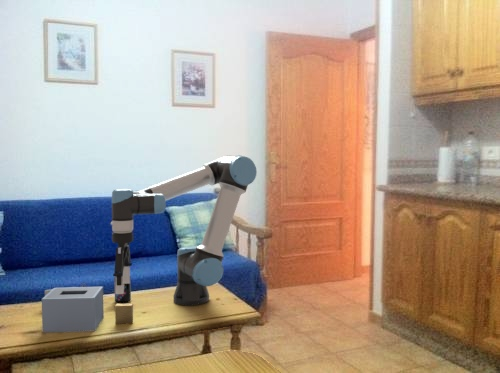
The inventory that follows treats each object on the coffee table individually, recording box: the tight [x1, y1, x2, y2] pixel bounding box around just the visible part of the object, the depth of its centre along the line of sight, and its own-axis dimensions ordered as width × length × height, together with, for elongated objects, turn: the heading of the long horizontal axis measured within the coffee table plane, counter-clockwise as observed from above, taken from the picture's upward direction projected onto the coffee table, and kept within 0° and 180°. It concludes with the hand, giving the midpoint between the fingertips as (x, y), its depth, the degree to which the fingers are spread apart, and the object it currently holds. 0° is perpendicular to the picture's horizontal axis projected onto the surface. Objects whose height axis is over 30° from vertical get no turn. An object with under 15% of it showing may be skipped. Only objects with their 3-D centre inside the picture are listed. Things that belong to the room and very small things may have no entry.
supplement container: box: [113, 276, 132, 304], centre depth 201 cm, size 7×7×10 cm
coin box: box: [41, 286, 105, 333], centre depth 173 cm, size 18×14×12 cm
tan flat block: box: [114, 302, 134, 326], centre depth 175 cm, size 6×2×7 cm, turn 95°
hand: (123, 288), depth 174 cm, fingers open, 13 cm apart
